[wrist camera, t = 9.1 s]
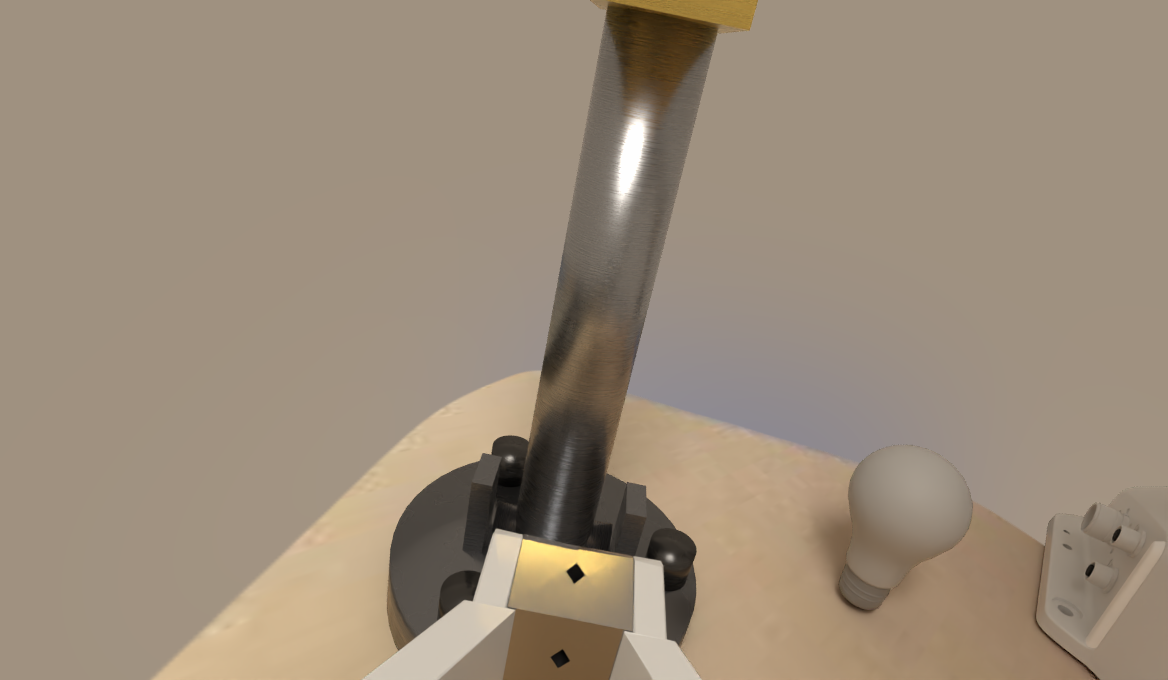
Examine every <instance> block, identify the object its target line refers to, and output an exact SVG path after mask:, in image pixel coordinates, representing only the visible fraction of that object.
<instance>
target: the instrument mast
mask: <svg viewBox="0 0 1168 680" xmlns="http://www.w3.org/2000/svg"><path fill="white" fill-rule="evenodd" d="M590 1H592V2H593V3H594V4H595V5H596V6H597V7H599V8H600V9H605V10H607V12H606V18H605V23H604V28H603V34H602V39H601V45H600V50H599V56H598V61H597V67H596V73H595V78H594V84H593V89H592V95H591V100H590V106H589V111H588V117H587V122H586V128H585V133H584V139H583V145H582V150H581V156H580V161H579V167H578V172H577V178H576V183H575V189H574V195H573V200H572V206H571V211H570V217H569V222H568V228H567V233H566V239H565V244H564V250H563V255H562V261H561V267H560V272H559V278H558V283H557V289H556V294H555V300H554V305H553V311H552V317H551V322H550V327H549V333H548V339H547V344H546V350H545V355H544V361H543V366H542V372H541V377H540V383H539V388H538V394H537V400H536V405H535V411H534V416H533V422H532V427H531V433H530V438H529V444H528V449H527V455H526V461H525V466H524V472H523V477H522V483H521V488H520V494H519V499H518V505H516V504H511V503H506V502H501V501H499V502H498V505H497V509H496V513H495V517H494V522H493V528H492V533H494V531H495V530H496V529H501V530H505V531H509V532H514V533H518V534H522V535H523V537H524V534H526V535H530V536H535V537H539V538H544V539H548V540H553V541H557V542H562V543H566V544H571V545H575V546H582V547H587V548H592V549H598V550H603V551H608V550H609V546H610V541H611V535H612V524H611V523H606V522H601V521H596V520H595V516H596V512H597V508H598V504H599V500H600V496H601V492H602V488H603V484H604V480H605V476H606V472H607V468H608V464H609V460H610V456H611V452H612V448H613V444H614V440H615V437H616V433H617V429H618V425H619V421H620V417H621V413H622V409H623V405H624V401H625V397H626V393H627V389H628V385H629V381H630V377H631V373H632V369H633V365H634V361H635V357H636V353H637V349H638V345H639V341H640V338H641V334H642V330H643V326H644V322H645V318H646V314H647V310H648V306H649V302H650V298H651V294H652V290H653V286H654V282H655V278H656V274H657V270H658V266H659V262H660V258H661V254H662V250H663V246H664V242H665V239H666V235H667V231H668V227H669V223H670V219H671V214H672V211H673V207H674V203H675V199H676V195H677V190H678V187H679V183H680V179H681V175H682V171H683V167H684V163H685V159H686V155H687V151H688V147H689V143H690V140H691V135H692V131H693V127H694V124H695V120H696V116H697V112H698V108H699V104H700V100H701V96H702V92H703V88H704V84H705V80H706V76H707V72H708V68H709V64H710V60H711V56H712V52H713V48H714V44H715V40H716V36H717V33H728V32H739V31H749V30H750V27H751V24H752V20H753V16H754V12H755V9H756V5H757V2H758V0H590Z"/></svg>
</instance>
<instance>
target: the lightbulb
mask: <svg viewBox="0 0 1168 680" xmlns="http://www.w3.org/2000/svg"><path fill="white" fill-rule="evenodd" d="M848 500H849V509H850V515H851V519H852V538H851V542H850V546H849V548H848V551H847V553H846V561H847V564H846V565H845V568H844V570H843V572H842V575H841V577H840V581H839V588H840V590H841V593H842V594H843V596H844V597H845V598H846V599H847V600H848V601H849V602H850V603H851V604H853V605H854V606H857V607H859V608H862V609H866V610H873V609H877V608H878V607H879V606H880V605H881V604H882V602H883V601H884V600H885V598H886V596H887V595H888V594H889V591H890V590H891V589H892V588H895V587H896V586H898V585H899V584H900V582H901V581H902V579H903V578H904V577H905V575H906V574H907V573H908V572H909V571H910V570H911V569H912V568H913V567H915V566H916V565H918V564H919V563H921V562H923V561H926V560H929V559H932V558H934V557H936V556H938V555H940V554H942V553H944V552H946V551H948V550H950V549H952V548H953V547H954V546H955V545H956V544H957V543H958V542H960V541H961V539H962V538H963V537H964V535H965V534H966V532H967V530H968V529H969V525H970V522H971V517H972V508H973V504H972V500H971V495H970V491H969V488H968V486H967V484H966V481H965V479H964V478H963V476H962V475H961V474H960V473H959V471H958V470H957V469H956V468H955V467H954V466H953V465H952V464H951V463H950V462H949V461H948V460H946V459H945V458H943V457H942V456H941V455H939V454H937V453H935V452H933V451H931V450H928V449H926V448H921V447H918V446H913V445H893V446H889V447H885V448H882V449H879V450H877V451H875V452H873V453H871V454H870V455H869V456H867V457H866V458H865V459H864V460H863V461H862V462H861V463H860V464H859V465H858V466H857V468H856V469H855V471H854V473H853V475H852V477H851V479H850V484H849V491H848Z"/></svg>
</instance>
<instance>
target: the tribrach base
mask: <svg viewBox="0 0 1168 680" xmlns="http://www.w3.org/2000/svg"><path fill="white" fill-rule="evenodd" d="M528 444H529V442H528V441H527V440H526V439H524V438H521V437H518V436H502V437H500V438H498V439H496V440H495V441H494V443H493V447H492V454H491V455H490V454H485V453H483V454H482V456H481V459H480V461H478V462H475V463H471V464H468V465H465V466H463V467H460V468H457V469H455V470H453V471H451V472H449V473H447V474H445V475H443V476H441V477H440V478H438V479H437V480H435V481H434V482H432V483H431V484H429V485H428V486H427V487H426V488H425V489H423V490H422V491H421V492H420V493H419V494H418V495H417V496H416V497H415V498H414V499H413V500H412V502H411V503H410V504H409V505H408V506H407V508H406V510H405V511H404V513H403V514H402V516H401V518H400V519H399V522H398V524H397V527H396V529H395V532H394V535H393V539H392V544H391V549H390V563H389V577H388V591H387V613H388V620H389V626H390V630H391V633H392V636H393V639H394V642H395V645H396V647H397V649H398V651H399V650H400V649H402V648H403V647H404V646H405V645H407V644H408V643H409V642H411V641H412V640H413V639H415V638H416V637H417V636H418V635H420V634H421V633H422V632H424V631H425V630H426V629H427V628H429V627H430V626H431V625H433V624H434V623H435V622H436V621H438V620H439V619H440V618H442V617H443V616H444V615H445V614H447V613H448V612H449V611H451V610H452V609H453V608H455V607H456V606H457V605H458V604H460V603H461V602H462V601H464V600H467V601H473V599H474V595H475V592H476V589H477V585H478V582H479V579H480V575H481V572H482V569H483V565H484V562H485V559H486V555H487V552H488V549H489V545H490V542H491V539H492V535H493V533H492V528H493V522H494V517H495V513H496V509H497V505H498V502H499V501H501V502H506V503H511V504H516V505H518V499H519V494H520V488H521V483H522V477H523V472H524V466H525V461H526V455H527V449H528ZM595 520H596V521H601V522H606V523H611V524H612V535H611V541H610V546H609V550H608V552H614V553H619V554H624V555H630V556H632V557H633V556H636V557H642V558H647V559H653V560H658V561H661V562H662V564H663V571H664V592H665V612H666V633H667V640H671V641H675V642H676V643H677V645H678V646H679V647H681V644H682V641H683V639H684V636H685V633H686V631H687V628H688V625H689V622H690V619H691V617H692V614H693V611H694V605H695V598H696V578H695V573H694V567H693V561H694V558H695V555H696V546H695V544H694V542H693V541H692V539H691V538H690V537H689V536H687V535H686V534H684V533H683V532H681V531H678V530H676V528H675V527H674V525H673V524H672V523H671V521H670V520H669V519H668V518H667V517H666V516H665V514H664V513H663V512H662V511H661V510H660V509H659V508H658V507H657V506H656V505H655V504H653V503H652V502H651V501H650V500H649V499H648V498H646V486H643V485H638V484H633V483H629V482H627V484H626V483H625V482H623V481H621V480H619V479H617V478H615V477H613V476H611V475H609V474H607V473H606V476H605V480H604V484H603V488H602V492H601V496H600V500H599V504H598V508H597V512H596V516H595Z"/></svg>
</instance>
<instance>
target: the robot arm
mask: <svg viewBox="0 0 1168 680" xmlns="http://www.w3.org/2000/svg"><path fill="white" fill-rule="evenodd" d="M1036 620H1037V622H1038V624H1039V626H1040V627H1041V628H1042V629H1043V630H1044V631H1045V632H1046V633H1047V634H1048V635H1049V636H1050V637H1051V638H1052V639H1053V640H1055V641H1056V642H1057V643H1058V644H1059V645H1061V646H1062V647H1063V648H1064V649H1066V650H1067V651H1068V652H1069V653H1071V654H1072V655H1073V656H1075V657H1076V658H1077V659H1078V660H1080V661H1081V662H1082V663H1084V664H1085V665H1086V666H1087V667H1088V668H1089V669H1090V670H1091V671H1092V672H1093V673H1094V674H1095V675H1096V676H1097V677H1098V678H1099V679H1100V680H1168V486H1164V487H1132V488H1128V489H1125V490H1123V491H1122V492H1120V494H1118V495H1117V496H1116V497H1115V499H1114V500H1113V501H1112V502H1111V503H1110V505H1109V506H1106V505H1103V504H1101V503H1094V504H1093V505H1092V506H1091V507H1090V508H1089V510H1088V511H1087V513H1086V515H1085V517H1082V516H1077V515H1069V514H1056V515H1055V516H1054V517H1053V518H1052V519H1051V520H1050V521H1049V523H1048V529H1047V537H1046V543H1045V551H1044V559H1043V566H1042V574H1041V582H1040V589H1039V597H1038V605H1037V612H1036ZM362 680H702V679H701V678H700V676H699V675H698V673H697V672H696V670H695V669H694V668H693V666H692V665H691V663H690V662H689V660H688V659H687V657H686V656H685V655H684V653H683V652H682V650H681V649H680V647H679V646H678V645H677V643H676V642H675V641H671V640H667V633H666V612H665V592H664V571H663V564H662V562H661V561H658V560H653V559H647V558H642V557H636V556H633V557H632V556H630V555H624V554H619V553H614V552H608V551H603V550H598V549H592V548H587V547H582V546H575V545H571V544H566V543H562V542H557V541H553V540H548V539H544V538H539V537H535V536H530V535H526V534H524V537H523V535H522V534H518V533H514V532H509V531H505V530H501V529H496V530H495V531H494V533H493V535H492V539H491V542H490V545H489V549H488V552H487V555H486V559H485V562H484V565H483V569H482V572H481V575H480V579H479V582H478V585H477V589H476V592H475V595H474V599H473V601H467V600H464V601H462V602H461V603H460V604H458V605H457V606H456V607H455V608H453V609H452V610H451V611H449V612H448V613H447V614H445V615H444V616H443V617H442V618H440V619H439V620H438V621H436V622H435V623H434V624H433V625H431V626H430V627H429V628H427V629H426V630H425V631H424V632H422V633H421V634H420V635H418V636H417V637H416V638H415V639H413V640H412V641H411V642H409V643H408V644H407V645H405V646H404V647H403V648H402V649H400V650H399V651H398V652H396V653H395V654H394V655H393V656H391V657H390V658H389V659H387V660H386V661H385V662H384V663H382V664H381V665H380V666H378V667H377V668H376V669H375V670H373V671H372V672H371V673H369V674H368V675H367V676H366V677H364V678H363V679H362Z"/></svg>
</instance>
